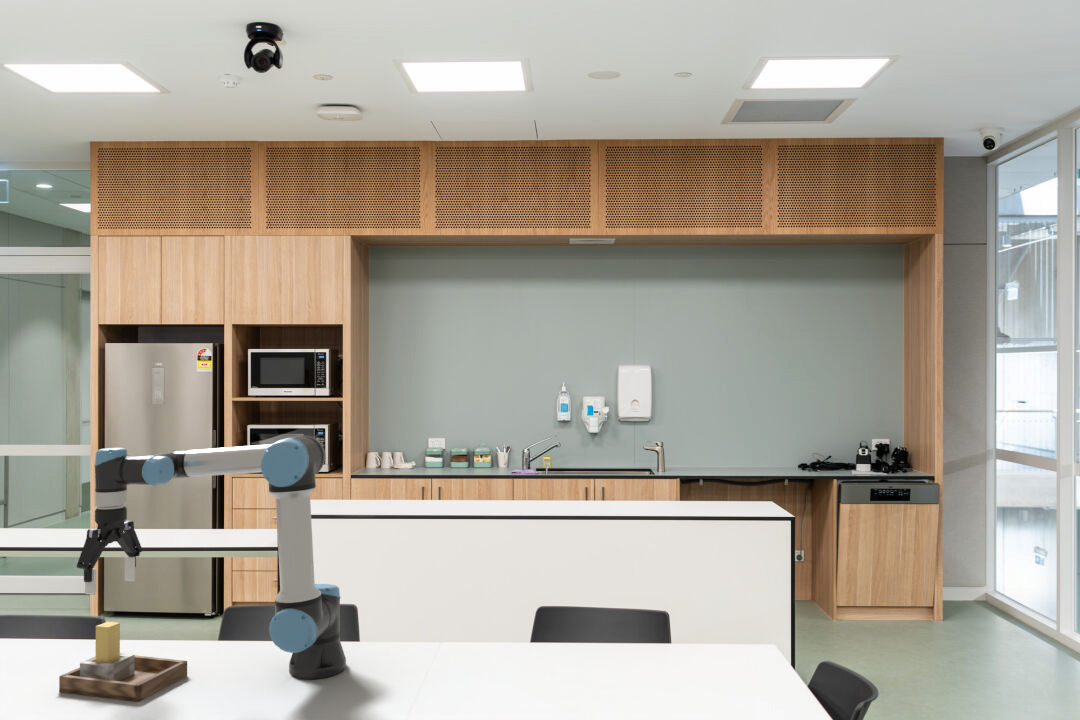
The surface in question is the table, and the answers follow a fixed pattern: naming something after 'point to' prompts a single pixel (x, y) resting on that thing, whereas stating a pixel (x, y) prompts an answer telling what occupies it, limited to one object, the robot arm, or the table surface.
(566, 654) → the table surface
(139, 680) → the brown wooden tray
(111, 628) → the connector
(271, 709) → the table surface
